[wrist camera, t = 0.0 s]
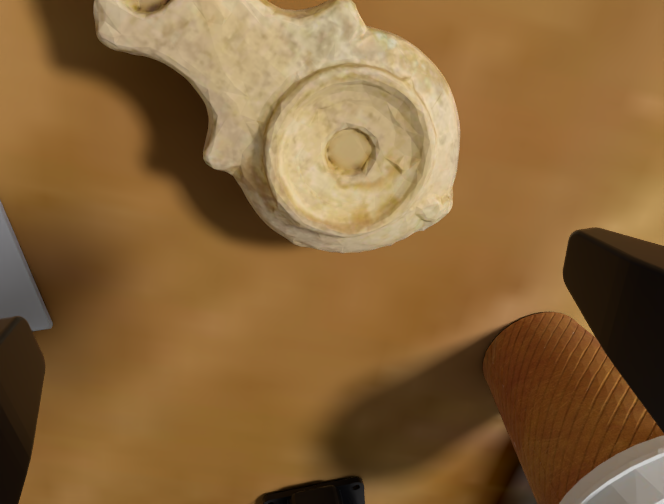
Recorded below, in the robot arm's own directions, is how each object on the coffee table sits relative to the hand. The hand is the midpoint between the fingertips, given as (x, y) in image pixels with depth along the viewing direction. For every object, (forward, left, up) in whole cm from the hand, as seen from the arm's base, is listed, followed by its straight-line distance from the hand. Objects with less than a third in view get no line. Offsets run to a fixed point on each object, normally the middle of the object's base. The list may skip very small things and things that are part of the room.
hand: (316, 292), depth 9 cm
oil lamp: (0, -1, -15) cm, 15 cm away
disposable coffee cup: (-17, -14, -15) cm, 27 cm away
